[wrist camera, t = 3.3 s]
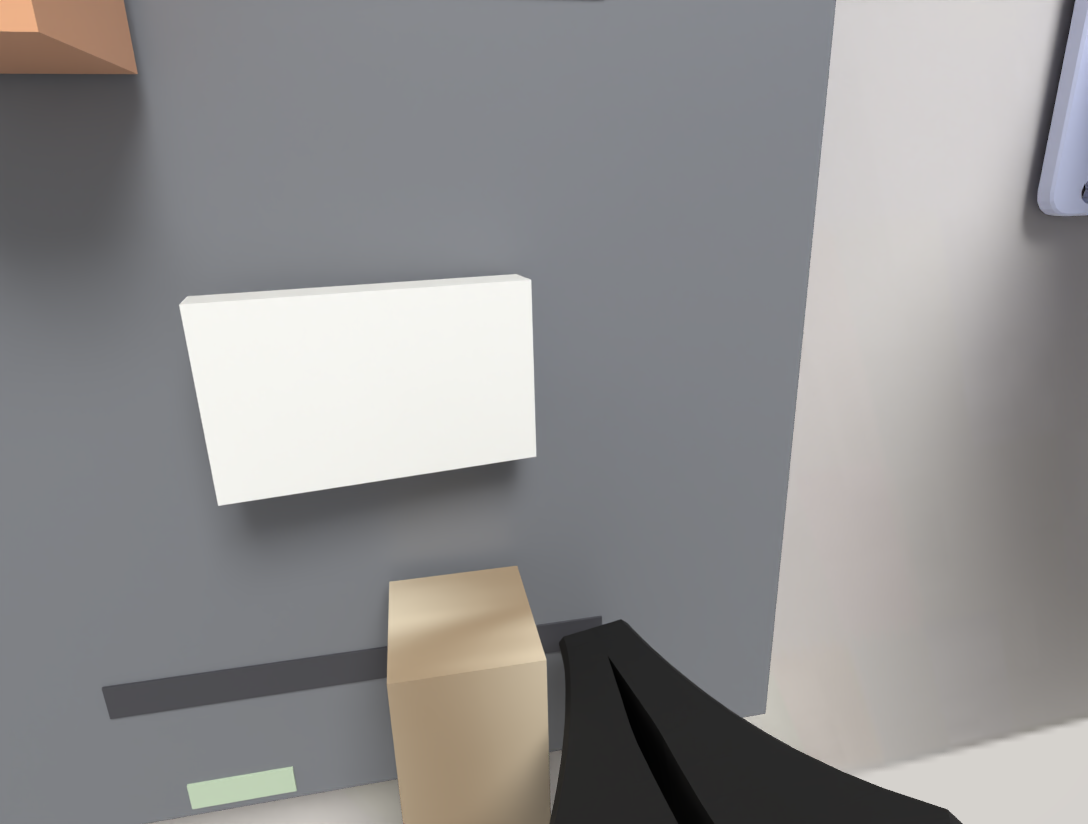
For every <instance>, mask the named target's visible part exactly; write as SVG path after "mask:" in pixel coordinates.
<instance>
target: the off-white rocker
mask: <svg viewBox="0 0 1088 824" xmlns="http://www.w3.org/2000/svg"><path fill="white" fill-rule="evenodd" d="M179 307H180V312H181V317H182V322H183V327H184V333H185V338H186V343H187V348H188V353H189V358H190V363H191V369H192V374H193V379H194V384H195V389H196V394H197V400H198V405H199V410H200V415H201V420H202V425H203V430H204V436H205V441H206V446H207V451H208V456H209V461H210V466H211V472H212V477H213V482H214V487H215V492H216V497H217V503H218V506H221V505H227V504H233V503H240V502H246V501H253V500H259V499H266V498H272V497H279V496H285V495H292V494H298V493H304V492H311V491H317V490H324V489H330V488H337V487H343V486H350V485H356V484H363V483H369V482H375V481H382V480H388V479H395V478H401V477H408V476H414V475H421V474H427V473H434V472H440V471H446V470H453V469H459V468H466V467H472V466H479V465H485V464H492V463H498V462H505V461H511V460H517V459H524V458H530V457H536V427H535V393H534V358H533V324H532V289H531V279H528V278H525V277H523V276H520V275H517V274H509V275H494V276H479V277H465V278H450V279H435V280H420V281H405V282H391V283H376V284H361V285H346V286H332V287H317V288H302V289H287V290H272V291H258V292H243V293H228V294H213V295H198V296H187V297H186V298H185V299H184V300H183V301H182V302H181V303H180V304H179Z"/></svg>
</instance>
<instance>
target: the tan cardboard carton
mask: <svg viewBox="0 0 1088 824" xmlns="http://www.w3.org/2000/svg"><path fill="white" fill-rule="evenodd" d="M387 691H388V700H389V708H390V717H391V725H392V734H393V742H394V751H395V759H396V767H397V776H398V784H399V793H400V801H401V810H402V818H403V824H549V823H550V818H551V811H550V774H549V736H548V699H547V661H546V657H545V654H544V650H543V647H542V644H541V641H540V638H539V634H538V631H537V628H536V625H535V621H534V618H533V615H532V612H531V609H530V605H529V602H528V599H527V596H526V592H525V589H524V586H523V583H522V579H521V576H520V573H519V570H518V567H517V566H510V567H502V568H494V569H486V570H478V571H470V572H463V573H455V574H447V575H439V576H431V577H423V578H415V579H407V580H399V581H391V582H389V614H388V653H387Z"/></svg>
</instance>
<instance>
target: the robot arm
mask: <svg viewBox="0 0 1088 824" xmlns="http://www.w3.org/2000/svg"><path fill="white" fill-rule="evenodd" d="M1084 184H1085V192H1084V195H1083V197H1082V189H1083V187H1084ZM1037 202H1038V205H1039V207H1040V209H1041V210H1042V211H1043V212H1044V213H1045V214H1047V215H1052V216H1082V215H1088V0H1075V5H1074V10H1073V15H1072V20H1071V25H1070V31H1069V36H1068V41H1067V46H1066V51H1065V56H1064V61H1063V66H1062V71H1061V76H1060V81H1059V86H1058V91H1057V96H1056V102H1055V107H1054V112H1053V117H1052V122H1051V127H1050V132H1049V137H1048V142H1047V147H1046V152H1045V157H1044V162H1043V168H1042V173H1041V178H1040V183H1039V188H1038V197H1037ZM559 647H560V651H561V655H562V660H563V664H564V671H565V725H564V736H563V746H562V756H561V764H560V771H559V778H558V784H557V789H556V795H555V800H554V805H553V810H552V814H551V818H550V823H549V824H962V823H961V822H960V821H959V820H958V819H957V818H956V817H955V816H954V815H953V814H951V813H950V812H949V810H947V809H944V808H941V807H938V806H935V805H932V804H929V803H926V802H923V801H920V800H917V799H914V798H911V797H908V796H905V795H902V794H899V793H896V792H893V791H890V790H887V789H884V788H882V787H879V786H876V785H874V784H871V783H869V782H866V781H864V780H862V779H859V778H857V777H854V776H852V775H849V774H847V773H844V772H842V771H840V770H838V769H836V768H834V767H831V766H829V765H827V764H825V763H823V762H821V761H819V760H817V759H815V758H813V757H811V756H808V755H806V754H804V753H802V752H800V751H798V750H796V749H794V748H792V747H791V746H789V745H787V744H785V743H783V742H782V741H780V740H778V739H776V738H774V737H773V736H771V735H769V734H768V733H766V732H764V731H763V730H761V729H759V728H758V727H756V726H754V725H753V724H751V723H749V722H748V721H746V720H745V719H743V718H742V717H740V716H739V715H737V714H736V713H734V712H733V711H731V710H730V709H728V708H727V707H725V706H724V705H723V704H721V703H720V702H718V701H717V700H716V699H714V698H713V697H711V696H710V695H709V694H707V693H706V692H705V691H703V690H702V689H701V688H699V687H698V686H697V685H695V684H694V683H693V682H692V681H691V680H689V679H688V678H687V677H686V676H684V675H683V674H682V673H681V672H680V671H678V670H677V669H676V668H675V667H673V666H672V665H671V664H670V663H669V662H668V661H666V660H665V659H664V658H663V657H662V656H661V655H660V654H659V653H658V652H656V651H655V650H654V649H653V648H652V647H651V646H650V645H649V644H648V643H647V642H646V641H645V640H644V639H643V638H642V637H641V636H640V635H639V634H638V633H637V632H636V631H635V630H634V629H633V628H632V627H631V626H630V625H629V624H628V623H627V622H625V621H623V620H622V619H620V620H617V621H613V622H610V623H607V624H603V625H600V626H597V627H594V628H590V629H587V630H584V631H580V632H577V633H574V634H570V635H567V636H564V637H563V638H562V639H561V641H560V642H559Z"/></svg>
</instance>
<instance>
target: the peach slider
mask: <svg viewBox="0 0 1088 824" xmlns="http://www.w3.org/2000/svg"><path fill="white" fill-rule="evenodd" d="M0 74H138V72H137V67H136V62H135V57H134V51H133V46H132V41H131V36H130V31H129V26H128V20H127V15H126V10H125V5H124V0H0Z"/></svg>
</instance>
